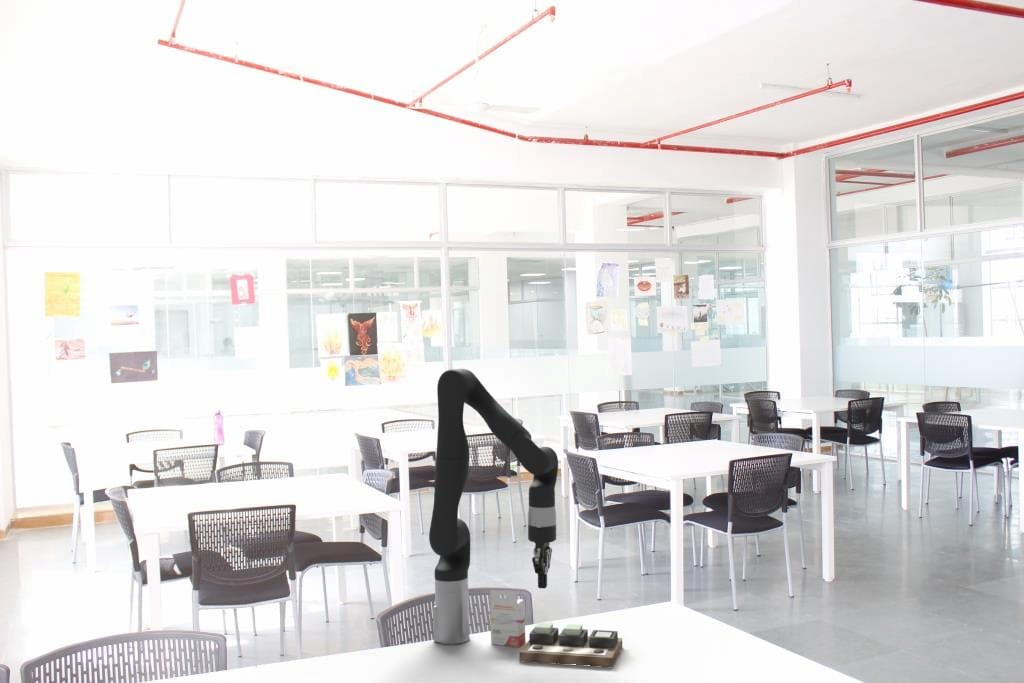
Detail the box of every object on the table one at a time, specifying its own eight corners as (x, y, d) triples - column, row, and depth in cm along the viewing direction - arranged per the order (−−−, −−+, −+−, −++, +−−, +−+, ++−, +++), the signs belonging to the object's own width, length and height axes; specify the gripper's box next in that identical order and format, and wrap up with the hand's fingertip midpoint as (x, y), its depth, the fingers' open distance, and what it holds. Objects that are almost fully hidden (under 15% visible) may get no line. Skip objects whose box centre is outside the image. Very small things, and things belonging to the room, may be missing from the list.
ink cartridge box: (526, 642, 255) (524, 588, 255) (519, 647, 251) (518, 592, 251) (497, 639, 258) (496, 585, 259) (490, 644, 254) (488, 590, 254)
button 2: (594, 643, 243) (594, 636, 243) (597, 639, 246) (597, 631, 246) (609, 644, 241) (609, 637, 242) (612, 640, 245) (612, 632, 245)
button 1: (534, 634, 247) (534, 627, 247) (538, 630, 251) (538, 622, 251) (549, 635, 246) (549, 627, 246) (553, 630, 250) (552, 623, 250)
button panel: (519, 661, 239) (519, 642, 239) (535, 642, 255) (534, 624, 255) (612, 667, 233) (611, 647, 233) (622, 647, 248) (621, 628, 248)
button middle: (564, 636, 245) (564, 628, 245) (567, 631, 249) (567, 624, 249) (579, 637, 244) (579, 629, 244) (582, 632, 248) (582, 625, 248)
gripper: (534, 517, 256) (534, 580, 256) (522, 526, 243) (522, 593, 243) (561, 518, 254) (561, 582, 254) (550, 528, 241) (550, 595, 241)
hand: (542, 587), depth 248 cm, fingers closed
